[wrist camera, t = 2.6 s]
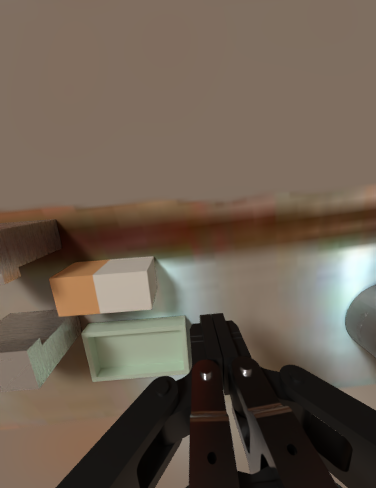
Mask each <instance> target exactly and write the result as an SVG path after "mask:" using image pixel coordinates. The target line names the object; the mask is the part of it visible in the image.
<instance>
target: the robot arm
mask: <svg viewBox="0 0 376 488" xmlns="http://www.w3.org/2000/svg"><path fill="white" fill-rule="evenodd" d="M346 328H347V331H348V333H349V335H350V336H351V337H352V338H353V339H354V340H355V341H356V342H357V343H359V344H360V345H361V346H362V347H363V348H365V349H366V350H367V351H368V352H369V353H371V354H372V355H373V356H374V357H375V358H376V285H374V286H371V287H369V288H368V289H366V290H365V291H363V292H362V293H361V294H359V295H358V296H357V297H356V298H355V300H354V301H353V302H352V304H351V305H350V307H349V309H348V311H347V315H346ZM190 339H191V352H192V368H191V371H190V372H189V373H188V374H187V375H186V376H185V377H183V378H182V379H179V380H177V381H175V380H174V379H173V378H171V377H169V376H162V377H158V378H156V379H155V380H154V381H152V382H151V384H150V385H149V386H148V387H147V388H146V389H145V390H144V391H143V392H142V393H141V395H140V396H139V397H138V398H137V399H136V400H135V401H134V402H133V403H132V404H131V405H130V407H129V408H128V409H127V410H126V411H125V412H124V413H123V414H122V415H121V416H120V418H119V419H118V420H117V421H116V422H115V423H114V424H113V425H112V426H111V428H110V429H109V430H108V431H107V432H106V433H105V434H104V435H103V436H102V437H101V439H100V440H99V441H98V442H97V443H96V444H95V445H94V446H93V447H92V448H91V450H90V451H89V452H88V453H87V454H86V455H85V456H84V457H83V458H82V459H81V461H80V462H79V463H78V464H77V465H76V466H75V467H74V468H73V469H72V470H71V471H70V473H69V474H68V475H67V476H66V477H65V478H64V479H63V480H62V481H61V482H60V484H59V485H58V486H57V487H56V488H155V487H156V485H157V483H158V481H159V480H160V478H161V476H162V475H163V473H164V471H165V469H166V468H167V466H168V464H169V463H170V461H171V459H172V457H173V456H174V454H175V452H176V451H177V449H178V447H179V445H180V443H181V441H182V438H184V437H186V436H188V435H190V445H189V447H190V448H189V485H188V486H187V487H186V488H342V487H341V486H340V485H338V484H337V483H336V482H335V481H334V479H333V478H332V476H331V474H333V475H334V476H335V477H336V478H337V479H338V480H340V481H341V482H342V483H343V484H344V485H345V486H347V487H348V488H376V410H374V409H372V408H370V407H369V406H367V405H365V404H364V403H362V402H360V401H358V400H357V399H355V398H353V397H351V396H350V395H348V394H346V393H344V392H343V391H341V390H339V389H337V388H336V387H334V386H332V385H330V384H329V383H327V382H325V381H323V380H322V379H320V378H318V377H317V376H315V375H313V374H311V373H310V372H308V371H306V370H304V369H303V368H301V367H298V366H295V365H286V366H283V367H282V368H281V370H280V372H277V371H271V370H267V369H264V368H262V367H260V366H259V364H258V363H257V362H256V361H255V360H254V359H252V358H251V355H250V353H249V351H248V349H247V346H246V344H245V342H244V340H243V338H242V335H241V333H240V331H239V328H238V326H237V325H236V324H235V323H234V322H233V321H232V320H231V321H225V318H224V316H223V313H217V314H206V315H200V323H198V324H192V326H191V328H190ZM223 390H224V392H223ZM224 394H225V395H230V397H231V401H232V413H233V416H234V419H235V422H236V425H237V429H238V432H239V435H240V438H241V441H242V444H243V447H244V451H245V454H246V457H247V461H248V465H249V470H250V474H248V473H244V472H240V471H237V467H236V460H235V454H234V448H233V441H232V434H231V429H230V422H229V416H228V414H227V412H226V405H225V398H224ZM314 415H315V416H314ZM321 420H322V421H321ZM328 425H329V426H328ZM335 430H336V431H335ZM342 435H343V436H342ZM329 472H330V473H331V474H330V473H329Z"/></svg>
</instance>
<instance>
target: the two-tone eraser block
mask: <svg viewBox="0 0 376 488" xmlns="http://www.w3.org/2000/svg"><path fill="white" fill-rule="evenodd" d="M49 281H50V285H51V289H52V293H53V296H54V300H55V304H56V308H57V312H58V315H59V317H63V316H75V315H88V314H101V313H113V312H126V311H139V310H151V309H152V307H153V303H154V299H155V296H156V292H157V280H156V271H155V263H154V256H152V257H138V258H125V259H112V260H99V261H86V262H75V263H73V264H71V265H70V266H68V267H67V268H65V269H63V270H62V271H60V272H59V273H57V274H55V275H54V276H52V277H51V278H49Z"/></svg>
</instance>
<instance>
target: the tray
mask: <svg viewBox="0 0 376 488" xmlns="http://www.w3.org/2000/svg"><path fill="white" fill-rule="evenodd" d="M81 335H82V339H83V343H84V348H85V352H86V356H87V360H88V364H89V368H90V373H91V377H92V381H93V382H96V381H108V380H120V379H132V378H144V377H156V376H168V375H180V374H188V373H189V358H188V346H187V334H186V322H185V316H175V317H162V318H150V319H137V320H125V321H112V322H99V323H88V325H87V326H86V327H85V329H84V330H83V331H82V333H81Z"/></svg>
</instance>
